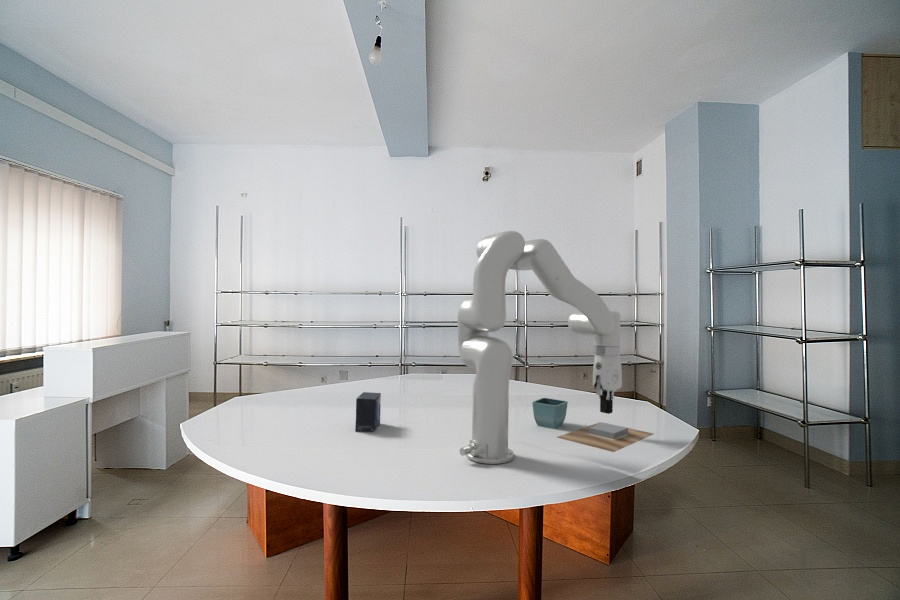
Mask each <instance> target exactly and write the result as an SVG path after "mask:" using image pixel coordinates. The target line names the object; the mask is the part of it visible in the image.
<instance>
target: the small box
mask: <svg viewBox="0 0 900 600" xmlns="http://www.w3.org/2000/svg"><path fill="white" fill-rule="evenodd" d="M381 400H382V395H381V392H367V391H366V392H365V391H364V392H362V393H361V394H360V395H358V396H357V398H356V399H355V404H356V405H355V406H356V407H355V429H354V430H355V432H366V433H367V432H368V433H369V432H370V433H372V432H373V433H375V431H376V430H377V428H378V427H379V426H380V424H381V407H382V406H381Z"/></svg>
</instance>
